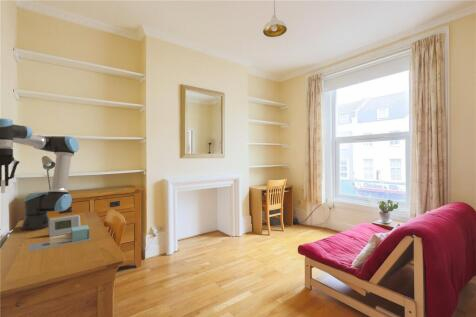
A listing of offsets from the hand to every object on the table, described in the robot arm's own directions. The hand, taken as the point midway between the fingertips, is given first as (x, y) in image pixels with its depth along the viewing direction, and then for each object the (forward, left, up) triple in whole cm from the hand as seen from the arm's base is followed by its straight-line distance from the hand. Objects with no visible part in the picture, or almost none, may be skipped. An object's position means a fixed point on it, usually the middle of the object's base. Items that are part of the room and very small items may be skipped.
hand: (3, 192), depth 124 cm
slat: (+10, +26, -29) cm, 40 cm away
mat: (+11, +24, -29) cm, 39 cm away
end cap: (+10, +33, -29) cm, 45 cm away
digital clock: (-7, +26, -30) cm, 40 cm away
